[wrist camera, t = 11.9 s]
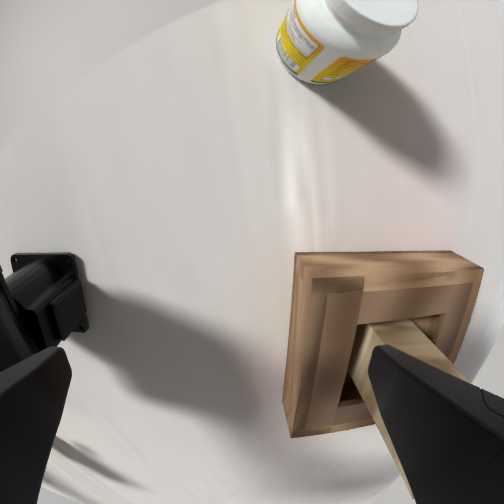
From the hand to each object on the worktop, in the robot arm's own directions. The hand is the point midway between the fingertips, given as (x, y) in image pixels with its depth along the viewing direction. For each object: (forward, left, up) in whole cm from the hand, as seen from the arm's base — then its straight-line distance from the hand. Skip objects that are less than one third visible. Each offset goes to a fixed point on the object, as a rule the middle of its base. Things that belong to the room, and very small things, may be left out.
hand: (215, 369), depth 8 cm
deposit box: (+12, -8, -13) cm, 19 cm away
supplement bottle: (+6, +13, -13) cm, 19 cm away
